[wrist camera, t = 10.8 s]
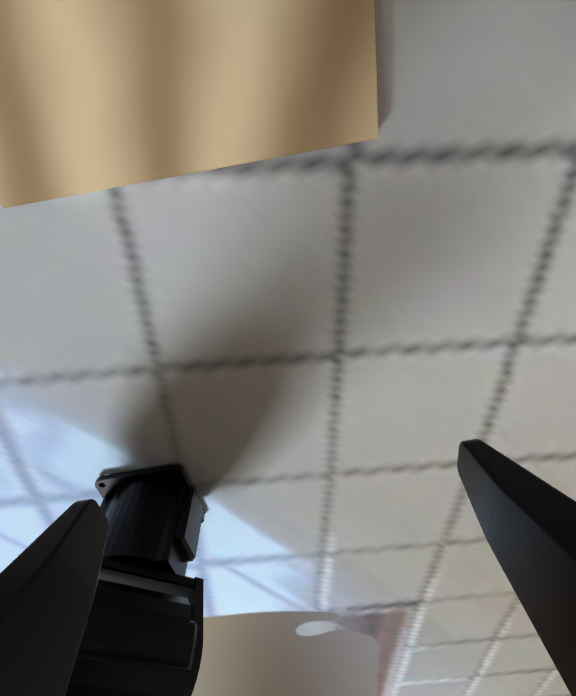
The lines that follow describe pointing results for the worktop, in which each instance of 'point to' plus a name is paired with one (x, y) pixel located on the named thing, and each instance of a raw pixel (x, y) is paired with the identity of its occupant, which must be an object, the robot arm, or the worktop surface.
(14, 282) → the worktop surface
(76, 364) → the worktop surface
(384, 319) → the worktop surface
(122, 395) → the worktop surface
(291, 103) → the striped wooden cutting board
